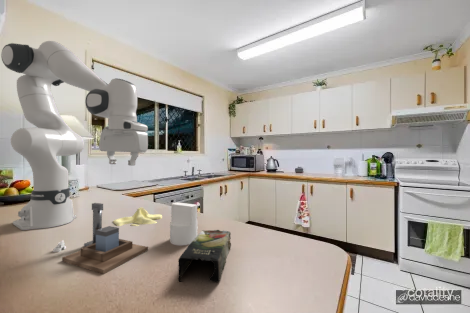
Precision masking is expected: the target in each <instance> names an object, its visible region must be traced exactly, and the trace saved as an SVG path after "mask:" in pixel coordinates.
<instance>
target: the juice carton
mask: <svg viewBox="0 0 470 313" xmlns="http://www.w3.org/2000/svg"><path fill="white" fill-rule="evenodd" d="M231 235H232V234H231V231H227V230H220V229H214V230H204V229H203V230H201V231H200V232H199V233H198V234H197V237H196V238H195V239H194V240H193V241H192V242H191V244H189V245H187V247H186V249H185V250H184V251H183V252H182V254H181V255H180V257H179V258H178V265H177V266H178V278H177V279H178V283H183V282H184V281H182V280H181V278H182V277H183V276H184V274H185V273H186V271H187V269H188V268H189V267H190V265H191V264H192V262H193V260H194V261H198V260H201V262H212V264H213V266H214V270H213V273H212V275H211V276H210V277H209V281H211V282H215V283H218V282H219V281H220V280H221V279H222V276H223V271H224V269H225V266H226V263H227V257H228V255H229V253H230V250H231V248H232V243H231Z"/></svg>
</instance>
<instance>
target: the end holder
mask: <svg viewBox="0 0 470 313" xmlns="http://www.w3.org/2000/svg"><path fill="white" fill-rule="evenodd" d="M148 250H149V246H145V245H140V244H135V243H133V241H132V240H128V239H127V240H126V239H121V238H119V246H118V247H115V248H113V249H111V250H108V251H106V252H102V251H98V250H96V243H94V244H91V245H89V246H86V247H85V246H83V247H81V248H80V250H78V251H76V252H73V253H70V254H68V255H65V256H62V258H61V262H63V263H67V264H69V265H73V266H75V267H79V268H83V269H86V270H89V271H92V272H95V273H99V274H102V275H104V274H106V273H108V272H111V271H112V270H115V269H116V268H118V267H119V266H121V265H123V264H125V263H127V262H129V261H131V260H133V259H134V258H137V257H139V256H140V255H143V254H144V253H146V252H148Z"/></svg>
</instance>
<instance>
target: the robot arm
mask: <svg viewBox="0 0 470 313" xmlns="http://www.w3.org/2000/svg"><path fill="white" fill-rule="evenodd" d="M0 56H1V61H2V63H3V64H4V66H5V67H6V68H7V69H9V70H10V71H11V72H12V71H13V72H14V73H18V74H23V75H20V76H19V77H18V78H17V79H16V91H17V92H16V93H17V97H18V101H19V103H20V106H21V109H22V113H23V115H24V118H25V120H26V121H27V122H29V123H30V124H31V125H33V126H35V127H21V128H19V129H16V130H15V131H14V132H13V133H12V134H11V137H10V145H11V147H12V149H13V150H14V151H15V152H16V153H18V155H21V156H22V157H23V158H24V159H25V160H26V161H27V162H28V165H29V166H30V168H31V172H32V179H33V180H32V181H33V189H32V191H31V193H30V201H28V202H27V203H26V204H25V205H24V206H23V207H22V208H21V210H19V211H18V213H17V216H18V217H19V219H16V220H13V221H12V225H14V226H15V227H16V228H18V229H19V230H21V231H26V230H36V229H47V228H53V227H59V226H62V225H66V224H70V223H71V222H73V221H74V219H76V218H77V215H76V214H74V205H73V204H74V203H73V199H71V198H70V196H71V194H70V193H71V191H70V187H69V170H68V168H67V167H66V166H63V165H61V164H60V162H59V160H58V158H57V157H67V156H74V155H78V154H80V153H81V152H82V151H83V150H84V147H85V140H84V138H83V137H82V136H81V135H80V134H78V133H77V132H76V131H74V130H73V129H72V128H71V127H70V126H69V125H68V124H67V123H66V121H65V120H64V118H63V117H62V116H61V113H60V111H59V109H58V107H57V104H56V101H55V98H54V96H53V93H52V89H51V87H52V86H55V87H57V86H60V85H61V84H64V83H65V84H67V85H69V86H72V87H76V88H78V89H81V90H85V91H87V92H88V93H87V94H86V97H85V102H84V103H85V107H86V109H87V111H88V112H89V113H90V115H94V116H97V117H100V118H105V119H108V126H104V128H103V129H102V130H101V131H102V132H101V133H100V136H99V145H98V149H99V151H101V152H106V156H107V157H108V164H109V165H116V164H117V159H116V157H115V155H116V153H117V152H120V153H122V152H123V153H130V156H131V157H130V158H129V160H127V162H128V163H127V165H128V166H130V167H131V166H136V161H137V159H138V157H139V153H143V154H144V153H146V152H147V151H148V149H149V148H148V147H149V146H148V145H149V137H148V133H147V131H148V130H149V128H148V126H147V125H146V124H144V123H141V122H138V116H137V109H138V91H137V87H136V85H135V84H134V83H132V82H130V81H128V80H125V79H122V78H112V79H111V80H110V81H109V83H107V82H105V81H104V80H103V79H102V78H100V77H99V76H98V74H97V73H96V72H94V71H93V70H92V69H91V68H90V67H88V66H87V65H86V64H85V62H83V60H81V59H80V57H78V56H77V55H76V54H75V53H74V52H73V51H72V50H70V49H69V48H68V47H66V46H65V45H63V44H61V43H60V42H57V41H54V40H47V41H44V42H42V43H41V44H40V45H39V47H38V48H34V47H31V46H30V45H29V44H21V43H13V42H11V43H8V44H5V45H4V46H3V48H2V49H1V54H0Z"/></svg>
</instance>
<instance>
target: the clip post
mask: <svg viewBox="0 0 470 313" xmlns="http://www.w3.org/2000/svg"><path fill="white" fill-rule="evenodd" d="M91 210H92V240H91V241H88V242H84V244H83V247H86V246H89V245H91V244H94V243H96V230H98V229H101V228H103V227H102V226H103V218H102V217H103V211H104V203H101V202H100V203H99V202H94V203H91Z"/></svg>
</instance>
